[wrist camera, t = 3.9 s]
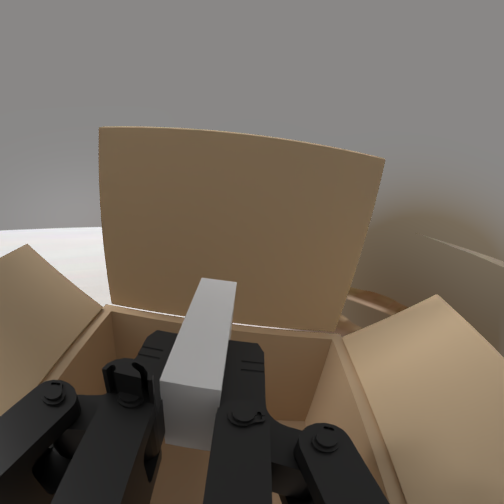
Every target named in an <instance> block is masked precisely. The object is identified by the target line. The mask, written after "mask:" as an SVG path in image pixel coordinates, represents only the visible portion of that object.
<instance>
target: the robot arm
mask: <svg viewBox="0 0 504 504" xmlns="http://www.w3.org/2000/svg"><path fill="white" fill-rule="evenodd" d="M236 286H237V282H232V281H224V280H216V279H209V278H201V281H200V283H199V285H198V288H197V290H196V292H195V295H194V297H193V299H192V302H191V304H190V306H189V309H188V311H187V314H186V316H185V318H184V321H183V323H182V326H181V328H180V331H179V333H172V332H166V331H160V330H156V331H155V332H153V333H152V334H150V335H149V336H147V338H146V340H145V341H144V343H143V345H142V348H141V349H140V351H139V352H138V355H137V356H136V358H135V359H130V358H122V359H115V360H113V361H111V362H109V363H107V364H106V365H105V366H104V367H103V368H102V373H103V378H104V382H105V387H106V392H107V393H106V394H103V395H77V394H76V391H75V389H74V387H73V386H71V385H70V384H69V383H67V382H65V381H62V380H49V381H45V382H43V383H41V384H40V385H38V386H37V387H35V388H34V389H33V390H32V391H30V392H29V393H28V394H27V395H26V396H24V397H23V398H22V399H21V400H19V401H18V402H17V403H16V404H15V405H13V406H12V407H11V408H10V409H9V410H7V411H6V412H5V413H4V414H2V415H1V416H0V504H150V501H151V497H152V493H153V489H154V485H155V481H156V478H157V474H158V470H159V466H160V463H161V459H162V450H161V445H162V442H163V438H164V436H165V443H166V444H171V445H176V446H181V447H187V448H193V449H199V450H206V451H210V457H209V464H208V470H207V477H206V484H205V491H204V498H203V504H272V492H274V493H277V494H279V497H280V500H281V503H282V504H390V503H389V502H388V500H387V498H386V497H385V495H384V494H383V492H382V490H381V489H380V487H379V485H378V484H377V482H376V480H375V479H374V477H373V475H372V474H371V472H370V470H369V469H368V467H367V465H366V464H365V462H364V460H363V459H362V457H361V455H360V454H359V452H358V450H357V449H356V447H355V445H354V444H353V442H352V440H351V439H350V437H349V436H348V435H347V433H346V432H345V431H344V430H343V429H341V428H339V427H337V426H336V425H332V424H328V423H315V424H312V425H309V426H307V427H306V428H304V429H303V430H298V429H295V428H292V427H288V426H286V425H283V424H281V423H279V422H278V421H276V420H274V419H273V417H272V416H271V415H270V414H269V412H268V411H267V408H266V397H265V365H264V363H265V362H264V352H263V350H262V349H261V347H260V346H259V344H258V343H251V342H242V341H234V340H230V338H231V329H232V320H233V312H234V303H235V294H236Z"/></svg>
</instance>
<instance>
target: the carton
mask: <svg viewBox="0 0 504 504" xmlns="http://www.w3.org/2000/svg"><path fill="white" fill-rule="evenodd" d="M183 321H184V318H182V317H176V316H169V315H163V314H157V313H151V312H145V311H139V310H134V309H128V308H123V307H117V306H112V305H107V304H106V305H105V306H104V307H102V306H101V305H100V304H98V303H97V302H96V301H94V300H93V299H92V298H91V297H89V296H88V295H87V294H85V293H84V292H83V291H82V290H80V289H79V288H78V287H77V286H75V285H74V284H73V283H72V282H70V281H69V280H68V279H67V278H66V277H64V276H63V275H62V274H61V273H60V272H58V271H57V270H56V269H55V268H54V267H53V266H51V265H50V264H49V263H48V262H47V261H46V260H45V259H43V258H42V257H41V256H40V255H39V254H38V253H37V252H36V251H35V250H33V249H32V248H31V247H30V246H29V245H28V244H26V245H24V246H22V247H20V248H18V249H16V250H14V251H12V252H10V253H8V254H7V255H5V256H3V257H1V258H0V416H1V415H2V414H4V413H5V412H6V411H7V410H9V409H10V408H11V407H12V406H13V405H15V404H16V403H17V402H18V401H19V400H21V399H22V398H23V397H24V396H26V395H27V394H28V393H29V392H30V391H32V390H33V389H34V388H35V387H37V386H38V385H40V384H41V383H43V382H45V381H49V380H62V381H65V382H67V383H69V384H70V385H71V386H73V387H74V389H75V391H76V394H77V395H103V394H106V393H107V392H106V387H105V382H104V378H103V373H102V368H103V367H104V366H105V365H106V364H107V363H109V362H111V361H113V360H115V359H122V358H130V359H135V358H136V356H137V355H138V352H139V351H140V349H141V348H142V345H143V343H144V341H145V340H146V338H147V336H149V335H150V334H152V333H153V332H155V331H156V330H160V331H166V332H172V333H179V331H180V328H181V326H182V323H183ZM230 340H234V341H242V342H251V343H258V344H259V346H260V347H261V349H262V350H263V352H264V362H265V363H264V365H265V397H266V408H267V411H268V412H269V414H270V415H271V416H272V417H273V419H274V420H276V421H278V422H279V423H281V424H283V425H286V426H288V427H292V428H295V429H298V430H303V429H304V428H306V427H307V426H309V425H312V424H315V423H328V424H332V425H336V426H337V427H339V428H341V429H343V430H344V431H345V432H346V433H347V435H348V436H349V437H350V439H351V440H352V442H353V444H354V445H355V447H356V449H357V450H358V452H359V454H360V455H361V457H362V459H363V460H364V462H365V464H366V465H367V467H368V469H369V470H370V472H371V474H372V475H373V477H374V479H375V480H376V482H377V484H378V485H379V487H380V489H381V490H382V492H383V494H384V495H385V497H386V498H387V500H388V502H389V503H390V504H504V358H503V357H502V356H501V355H500V353H499V352H497V350H496V349H495V348H494V347H493V346H492V345H491V344H490V343H489V342H488V341H487V340H486V339H485V338H484V337H483V336H481V335H480V334H479V333H478V332H477V331H476V330H475V329H474V328H473V327H472V326H471V325H470V324H469V323H468V322H467V321H466V320H465V319H464V318H463V317H461V316H460V315H459V314H458V313H457V312H456V311H455V310H454V309H453V308H452V307H451V306H450V305H448V304H447V303H446V302H445V301H444V300H443V299H442V298H441V297H440V296H438V295H437V294H436V295H434V296H432V297H430V298H428V299H426V300H424V301H422V302H420V303H418V304H416V305H414V306H412V307H410V308H408V309H405V310H403V311H401V312H399V313H397V314H395V315H393V316H390V317H388V318H386V319H384V320H382V321H379V322H377V323H375V324H372V325H370V326H368V327H366V328H363V329H361V330H358V331H356V332H354V333H351V334H349V335H346V336H344V337H341V335H340V334H334V333H319V332H305V331H293V330H282V329H271V328H261V327H252V326H243V325H234V324H232V329H231V338H230ZM161 450H162V459H161V463H160V466H159V470H158V474H157V478H156V481H155V485H154V489H153V493H152V497H151V501H150V504H203V498H204V491H205V484H206V477H207V470H208V464H209V457H210V451H206V450H199V449H193V448H187V447H181V446H176V445H171V444H166V443H165V436H164V438H163V442H162V445H161ZM272 504H282V503H281V500H280V497H279V494H277V493H274V492H272Z"/></svg>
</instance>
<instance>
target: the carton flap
mask: <svg viewBox="0 0 504 504" xmlns="http://www.w3.org/2000/svg"><path fill="white" fill-rule="evenodd" d="M384 164H385V159H384V158H381V157H377V156H373V155H368V154H364V153H359V152H355V151H350V150H345V149H340V148H335V147H330V146H325V145H320V144H314V143H308V142H302V141H295V140H290V139H283V138H276V137H269V136H261V135H253V134H245V133H236V132H225V131H215V130H201V129H186V128H168V127H132V126H130V127H127V126H116V127H115V126H113V127H99V187H100V207H101V221H102V233H103V243H104V252H105V261H106V269H107V276H108V283H109V290H110V296H111V302H112V304H116V305H121V306H126V307H132V308H138V309H143V310H149V311H155V312H161V313H167V314H174V315H180V316H186V314H187V311H188V309H189V306H190V304H191V302H192V299H193V297H194V295H195V292H196V290H197V288H198V285H199V283H200V281H201V278H209V279H216V280H224V281H232V282H237V286H236V294H235V303H234V312H233V320H232V323H241V324H249V325H259V326H268V327H279V328H290V329H301V330H314V331H329V332H334V331H335V329H336V326H337V323H338V321H339V318H340V315H341V312H342V309H343V307H344V304H345V301H346V298H347V295H348V292H349V289H350V286H351V283H352V280H353V277H354V274H355V271H356V268H357V265H358V261H359V258H360V255H361V251H362V248H363V245H364V241H365V238H366V235H367V231H368V227H369V224H370V220H371V216H372V213H373V209H374V205H375V201H376V197H377V193H378V189H379V185H380V181H381V177H382V173H383V168H384Z"/></svg>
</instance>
